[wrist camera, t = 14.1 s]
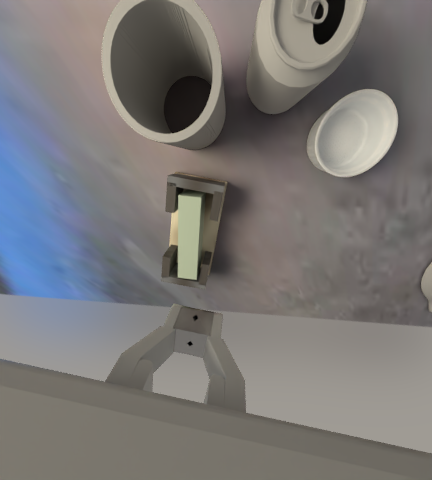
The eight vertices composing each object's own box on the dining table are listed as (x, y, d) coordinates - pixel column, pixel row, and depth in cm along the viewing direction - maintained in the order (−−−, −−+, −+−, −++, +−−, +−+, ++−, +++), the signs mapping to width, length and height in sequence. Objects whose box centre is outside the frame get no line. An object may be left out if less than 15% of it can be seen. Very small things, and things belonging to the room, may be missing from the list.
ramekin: (361, 83, 22) (390, 67, 18) (378, 152, 25) (406, 150, 21) (291, 128, 25) (303, 122, 21) (314, 186, 27) (328, 190, 23)
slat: (205, 191, 28) (201, 197, 23) (201, 263, 33) (196, 279, 29) (186, 189, 28) (178, 195, 23) (184, 261, 33) (177, 277, 29)
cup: (148, 123, 25) (86, 95, 14) (179, 50, 22) (130, -59, 11) (202, 162, 27) (182, 165, 16) (239, 101, 24) (247, 50, 13)
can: (293, 121, 24) (346, 89, 13) (238, 109, 24) (246, 66, 13) (317, 47, 21) (412, -76, 10) (255, 32, 21) (282, -108, 10)
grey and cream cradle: (227, 181, 28) (226, 186, 23) (209, 272, 35) (206, 290, 30) (176, 172, 28) (165, 174, 23) (169, 264, 35) (159, 281, 30)
